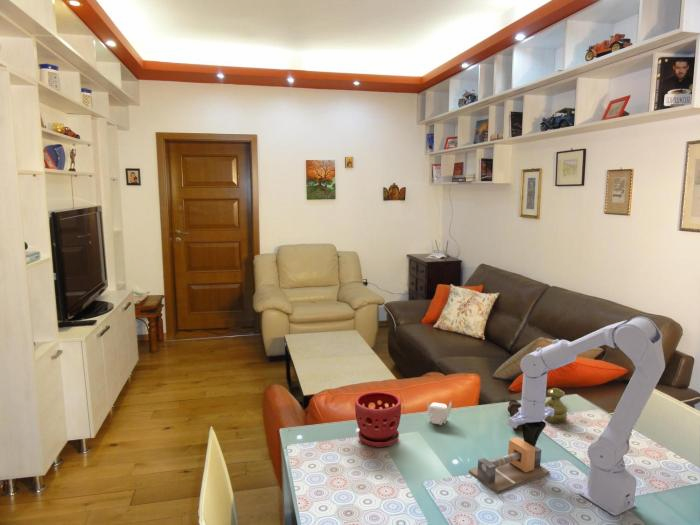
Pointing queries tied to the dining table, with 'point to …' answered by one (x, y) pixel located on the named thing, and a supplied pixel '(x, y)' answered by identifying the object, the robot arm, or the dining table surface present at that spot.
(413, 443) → the dining table surface
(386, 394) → the plant pot
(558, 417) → the olive green vase
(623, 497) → the robot arm
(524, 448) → the collar
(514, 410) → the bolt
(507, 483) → the sliding block rail
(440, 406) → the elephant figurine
